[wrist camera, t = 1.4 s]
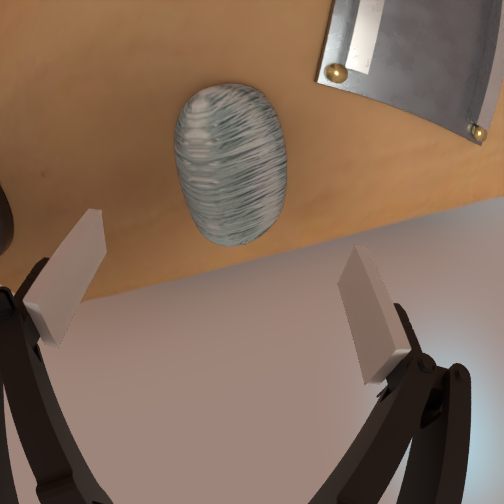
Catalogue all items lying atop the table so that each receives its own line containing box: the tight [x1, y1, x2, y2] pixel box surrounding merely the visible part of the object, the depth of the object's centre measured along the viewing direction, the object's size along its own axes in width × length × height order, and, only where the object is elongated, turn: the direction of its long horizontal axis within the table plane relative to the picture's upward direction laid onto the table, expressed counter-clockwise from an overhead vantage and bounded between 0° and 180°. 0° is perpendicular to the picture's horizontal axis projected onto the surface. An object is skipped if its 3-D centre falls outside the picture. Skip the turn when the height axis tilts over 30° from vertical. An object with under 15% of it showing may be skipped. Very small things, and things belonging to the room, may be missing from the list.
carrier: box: [315, 0, 504, 146], centre depth 17 cm, size 20×20×3 cm
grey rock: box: [174, 83, 287, 246], centre depth 24 cm, size 14×10×10 cm
